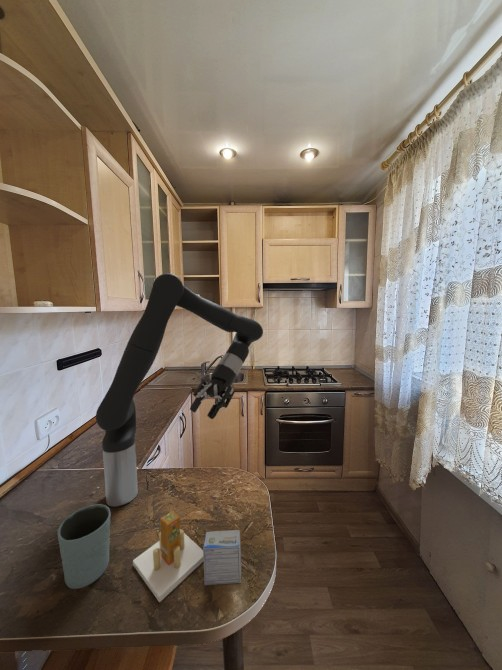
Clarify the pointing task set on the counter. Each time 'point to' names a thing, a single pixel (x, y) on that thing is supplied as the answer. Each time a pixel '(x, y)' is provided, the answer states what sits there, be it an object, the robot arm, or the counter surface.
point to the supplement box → (169, 536)
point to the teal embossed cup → (85, 545)
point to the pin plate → (168, 576)
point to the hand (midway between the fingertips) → (200, 414)
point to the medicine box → (222, 557)
